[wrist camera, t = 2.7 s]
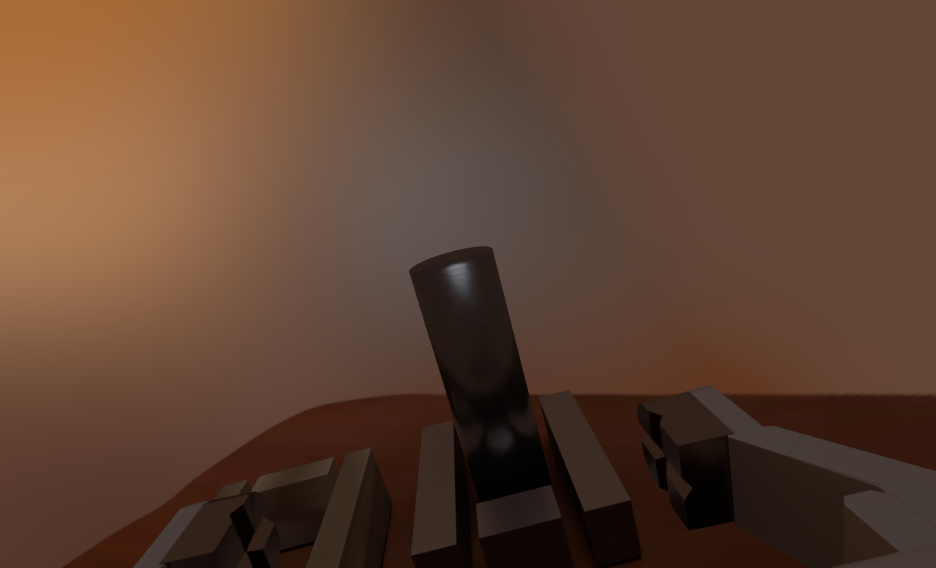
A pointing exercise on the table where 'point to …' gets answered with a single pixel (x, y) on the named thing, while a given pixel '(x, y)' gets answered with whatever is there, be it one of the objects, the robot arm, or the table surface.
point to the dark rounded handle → (481, 370)
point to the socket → (522, 502)
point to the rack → (328, 509)
